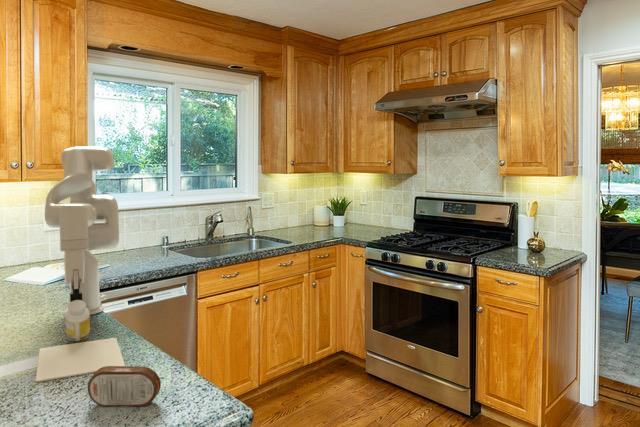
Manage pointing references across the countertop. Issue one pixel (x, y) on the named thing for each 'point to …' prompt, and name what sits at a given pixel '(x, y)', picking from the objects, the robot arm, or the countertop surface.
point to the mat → (77, 359)
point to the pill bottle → (77, 320)
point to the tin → (124, 386)
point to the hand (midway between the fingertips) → (76, 306)
